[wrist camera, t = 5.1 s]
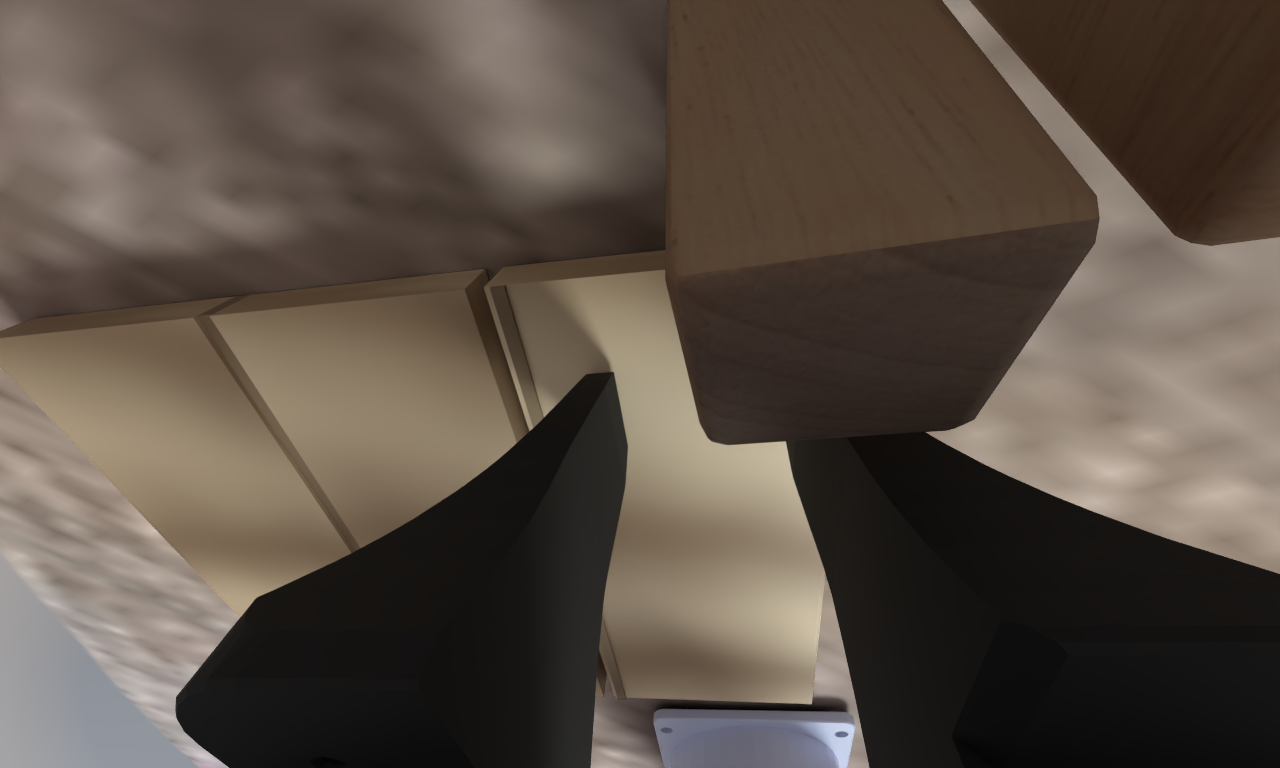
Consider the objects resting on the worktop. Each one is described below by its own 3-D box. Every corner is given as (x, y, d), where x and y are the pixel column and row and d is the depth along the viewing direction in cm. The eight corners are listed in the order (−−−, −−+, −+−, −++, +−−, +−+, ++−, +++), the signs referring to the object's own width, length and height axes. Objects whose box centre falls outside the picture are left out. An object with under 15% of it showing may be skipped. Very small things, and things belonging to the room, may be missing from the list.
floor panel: (607, 664, 19) (603, 697, 18) (329, 662, 21) (312, 693, 20) (485, 268, 11) (464, 289, 10) (33, 318, 12) (-25, 340, 11)
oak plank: (805, 668, 18) (812, 706, 17) (618, 664, 19) (614, 699, 18) (841, 231, 10) (859, 251, 8) (503, 266, 11) (482, 288, 10)
